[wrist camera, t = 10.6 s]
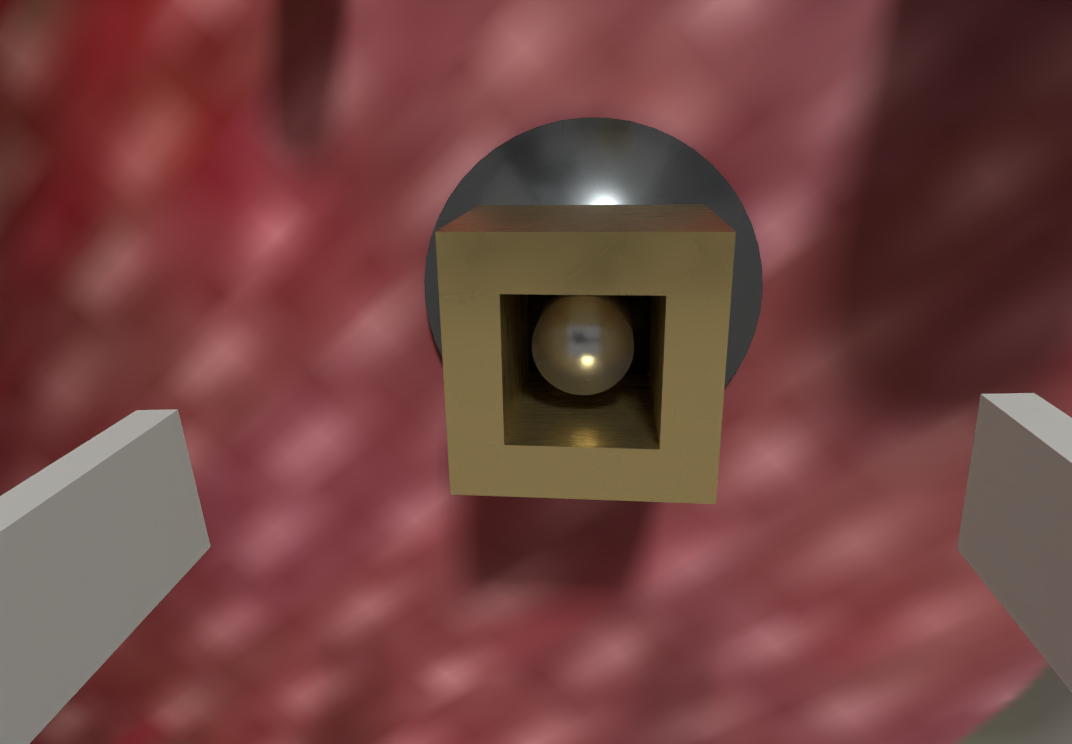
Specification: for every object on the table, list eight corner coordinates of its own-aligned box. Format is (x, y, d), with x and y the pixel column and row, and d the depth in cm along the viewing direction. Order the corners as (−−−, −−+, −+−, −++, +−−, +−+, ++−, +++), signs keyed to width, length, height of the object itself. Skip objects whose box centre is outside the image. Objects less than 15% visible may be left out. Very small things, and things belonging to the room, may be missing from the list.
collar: (486, 411, 25) (450, 494, 20) (478, 205, 23) (435, 231, 17) (692, 416, 25) (716, 503, 19) (704, 204, 22) (735, 232, 17)
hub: (364, 241, 27) (283, 279, 20) (649, 42, 24) (663, 11, 17) (542, 493, 29) (522, 599, 23) (819, 343, 26) (888, 416, 20)
